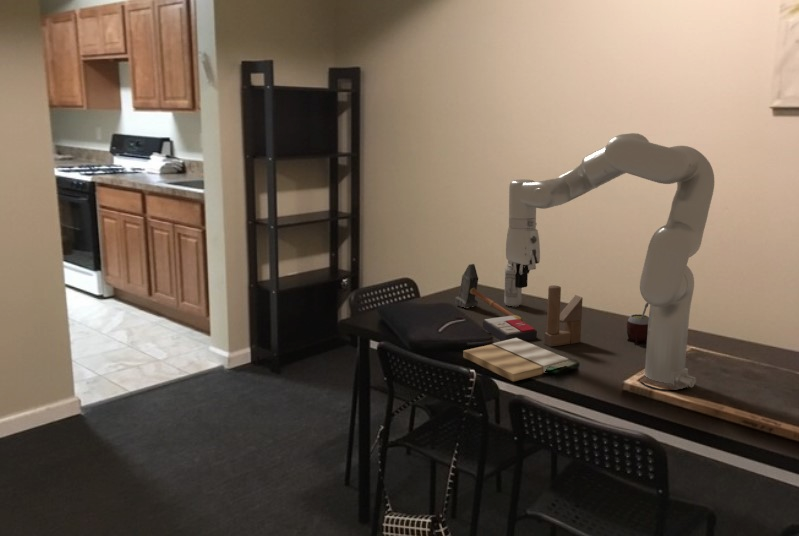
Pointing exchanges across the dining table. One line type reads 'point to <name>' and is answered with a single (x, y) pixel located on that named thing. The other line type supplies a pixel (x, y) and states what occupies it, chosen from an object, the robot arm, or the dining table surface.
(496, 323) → the calculator
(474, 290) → the hammer
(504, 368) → the oak board
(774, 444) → the dining table surface
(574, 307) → the wooden block
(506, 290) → the energy drink can
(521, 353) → the ash plank
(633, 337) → the mate gourd
